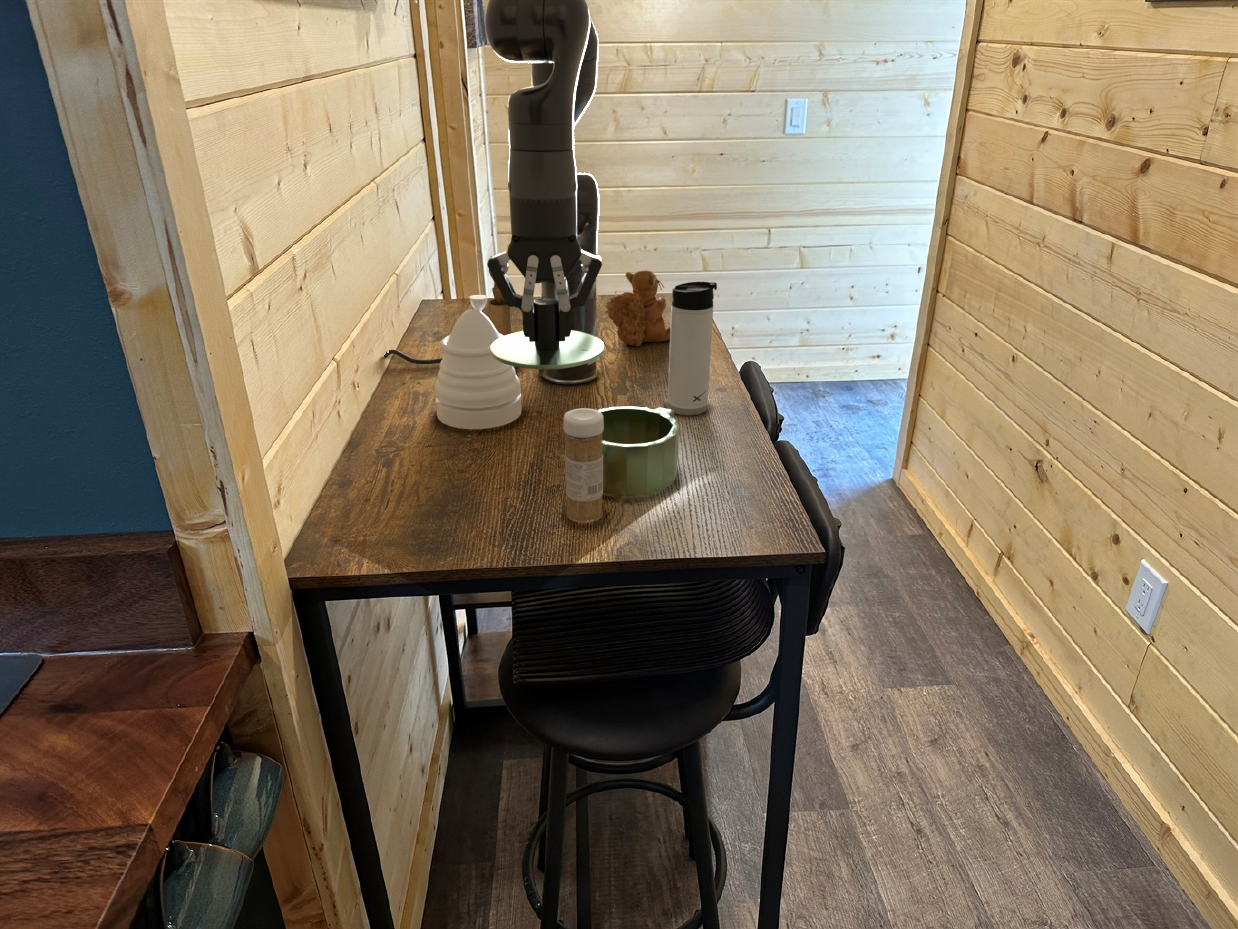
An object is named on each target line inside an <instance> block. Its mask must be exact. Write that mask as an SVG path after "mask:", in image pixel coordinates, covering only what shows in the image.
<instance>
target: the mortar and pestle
mask: <svg viewBox="0 0 1238 929" xmlns="http://www.w3.org/2000/svg"><path fill="white" fill-rule="evenodd" d="M506 273H508V271H507V272H506ZM488 274H489V275H490V277H491V279H492V281H493V287H492V288H491V291H492V295H493V298H494V299H491V300H489V301H487V303H488V318H489V320H490V321H491V322H492V324H493V325H494V327H495V329H496V330H497V332H498V334H501V335H503V336H505V335H509V334H512V333H513V324H512V322H513V321H512V307H509V306H508V305H507V304H506V302H505V300H504V298H503V296H502V294H501V292H500V290H499V288H498V286H497V284H496V282H495V280H494V278H493V276H492V274H491V272H490V270H489V269H488Z"/></svg>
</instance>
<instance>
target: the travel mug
mask: <svg viewBox="0 0 1238 929" xmlns="http://www.w3.org/2000/svg"><path fill="white" fill-rule="evenodd" d="M717 289H718V284H717V282H713V281H711V282H709V281H690V282H683V283H680V284H677V285H675V286H674V288H672V290H671V291H672V294H671V298H672V299H671V309H670V327H671V328H670V339H669V355H668V357H669V358H668V380H667V381H668V384H667V405H666V406H667V409H669V410H672V411H674V414H677V415H680V416H697V415H702V414H703V413H705V412H706V411H707V409H708V399H709V383H710V382H709V381H710V369H711V368H710V366H711V352H712V336H713V335H712V334H713V317H714V295H715V294H714V291H716V290H717Z"/></svg>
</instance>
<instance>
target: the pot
mask: <svg viewBox="0 0 1238 929" xmlns="http://www.w3.org/2000/svg"><path fill="white" fill-rule="evenodd" d="M596 410H597V411H599V412H601V413H602V415H603V419H604V430H603V434H602V454H603V495H604V494H605V495H609V496H617V497H624V498H625V497H626V498H627V497H628V498H629V497H644V496H648V495H652V494H656V493H660V492H662V491H665V490H666V489H667V488H669V487H670V486H672V485H674V483H675V481H676V479H677V476H678V463H679V462H678V461H679V442H680V440H679V439H680V426H679V424H678V422H677V420H676V419H675V413H674V411H672V410H669V409H668V408H665V407H661V406H659V407H657V408H655V409H652V408H649V407H640V406H630V405H628V406H611V407H605V408H602V409H601V408H600V409H596Z"/></svg>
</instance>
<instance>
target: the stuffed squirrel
mask: <svg viewBox="0 0 1238 929" xmlns="http://www.w3.org/2000/svg"><path fill="white" fill-rule="evenodd" d="M624 277H625V278H626V279H627V281H628V282H629V284H631V287H632V292H630V291H626V292H623V293H621V294H618V295H616V296H613V297H611V298H609V299H610V300H609V301H607V302H606V304H605V305H604V307H605V308H606V309H607V310H606V311H605V312H604V314H607V315H608V318H609V319H610V320H611V321H612V323H613V324H614V325H615V327H616V328H617V331H616V333H617V337H618V339H619V341H620V342H623V343H624V344H625V345H629V346H634V347H639V346H641V344H643V343H659V342H666V341H668V340H669V341H670V328H671V326H669V327H666V324H665V320H664V317H663V314H664V311H665V309H666V308H667V300H666V298H664V297H659V298H657V297H656V296H657V293H658V288H659V289H660V291H662V288H663V289H665V286H664V284H663V283H662V282H661V281H660V280H658V278H657V275H656V274H655V273H654V272H653V271H651V270H650V269H641V270H637V271H635V272H634V273H631V272H626V273H625V276H624Z"/></svg>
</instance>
